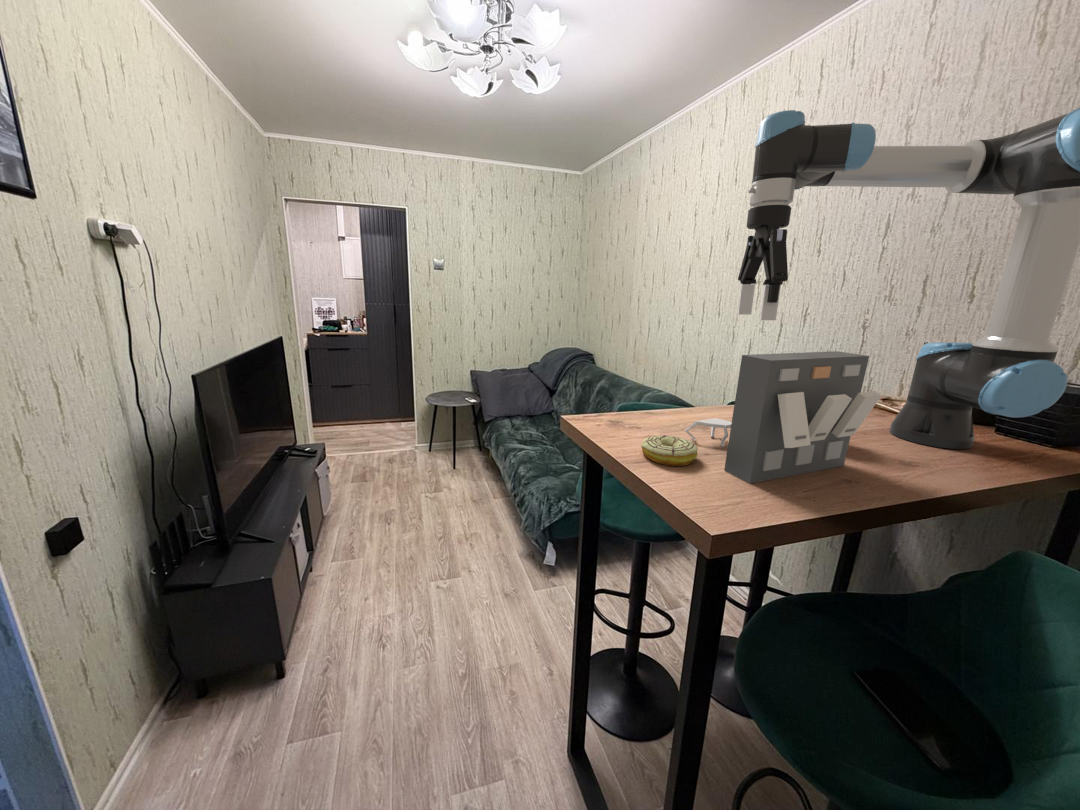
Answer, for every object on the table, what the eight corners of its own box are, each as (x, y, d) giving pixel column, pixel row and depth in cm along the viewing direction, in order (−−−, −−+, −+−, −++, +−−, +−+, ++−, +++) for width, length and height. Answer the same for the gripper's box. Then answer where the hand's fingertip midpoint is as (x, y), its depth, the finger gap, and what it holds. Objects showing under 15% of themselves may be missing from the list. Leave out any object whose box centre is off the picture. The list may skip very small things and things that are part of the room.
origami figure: (724, 435, 103) (727, 415, 101) (746, 447, 95) (750, 426, 93) (677, 436, 101) (680, 416, 99) (696, 449, 93) (698, 427, 91)
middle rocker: (825, 440, 78) (852, 399, 73) (808, 442, 77) (835, 400, 72) (818, 434, 79) (844, 394, 74) (801, 437, 78) (827, 395, 73)
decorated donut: (663, 445, 95) (665, 429, 94) (706, 461, 86) (709, 444, 85) (630, 454, 89) (632, 437, 88) (673, 473, 80) (675, 454, 79)
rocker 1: (811, 445, 72) (804, 391, 73) (793, 447, 71) (785, 393, 71) (803, 445, 74) (796, 392, 74) (784, 447, 72) (777, 394, 73)
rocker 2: (854, 435, 81) (882, 396, 76) (838, 438, 80) (866, 397, 75) (846, 430, 82) (874, 391, 77) (831, 432, 81) (858, 392, 76)
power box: (845, 466, 85) (871, 356, 80) (751, 484, 76) (773, 360, 70) (815, 455, 91) (837, 351, 85) (724, 470, 82) (742, 355, 76)
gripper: (730, 215, 96) (719, 312, 102) (775, 195, 73) (757, 322, 79) (765, 214, 95) (753, 312, 101) (822, 193, 72) (801, 323, 78)
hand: (755, 317), depth 90 cm, fingers open, 13 cm apart
